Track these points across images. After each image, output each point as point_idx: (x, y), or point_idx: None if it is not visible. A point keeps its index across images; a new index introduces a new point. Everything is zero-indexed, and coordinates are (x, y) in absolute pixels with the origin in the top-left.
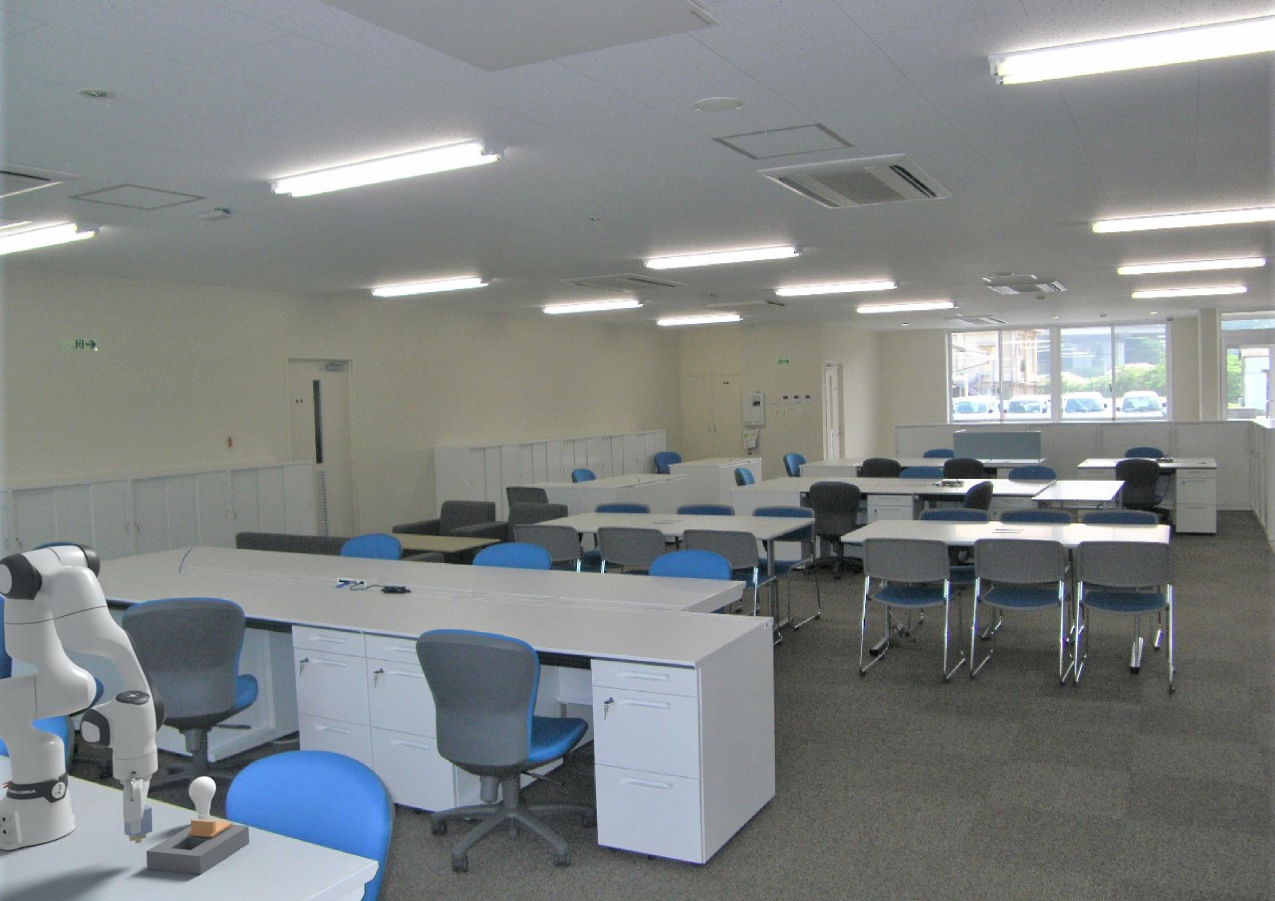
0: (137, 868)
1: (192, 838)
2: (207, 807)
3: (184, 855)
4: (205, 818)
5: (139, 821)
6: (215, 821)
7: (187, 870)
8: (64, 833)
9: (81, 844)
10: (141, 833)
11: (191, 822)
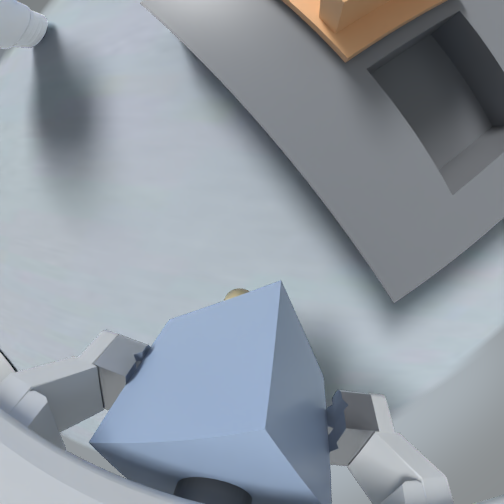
0: (336, 294)
1: (388, 52)
2: (21, 6)
3: None
4: (45, 22)
5: (424, 461)
6: None
7: None
8: (5, 363)
9: (46, 356)
10: (309, 354)
11: (344, 7)
